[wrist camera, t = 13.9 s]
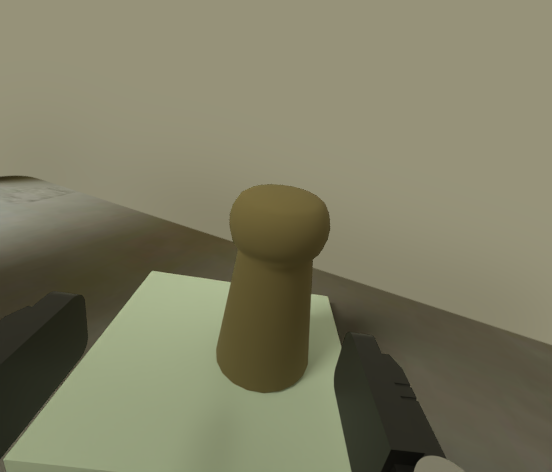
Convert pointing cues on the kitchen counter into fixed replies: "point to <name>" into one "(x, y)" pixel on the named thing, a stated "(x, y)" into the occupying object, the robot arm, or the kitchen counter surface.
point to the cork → (271, 286)
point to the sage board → (185, 397)
